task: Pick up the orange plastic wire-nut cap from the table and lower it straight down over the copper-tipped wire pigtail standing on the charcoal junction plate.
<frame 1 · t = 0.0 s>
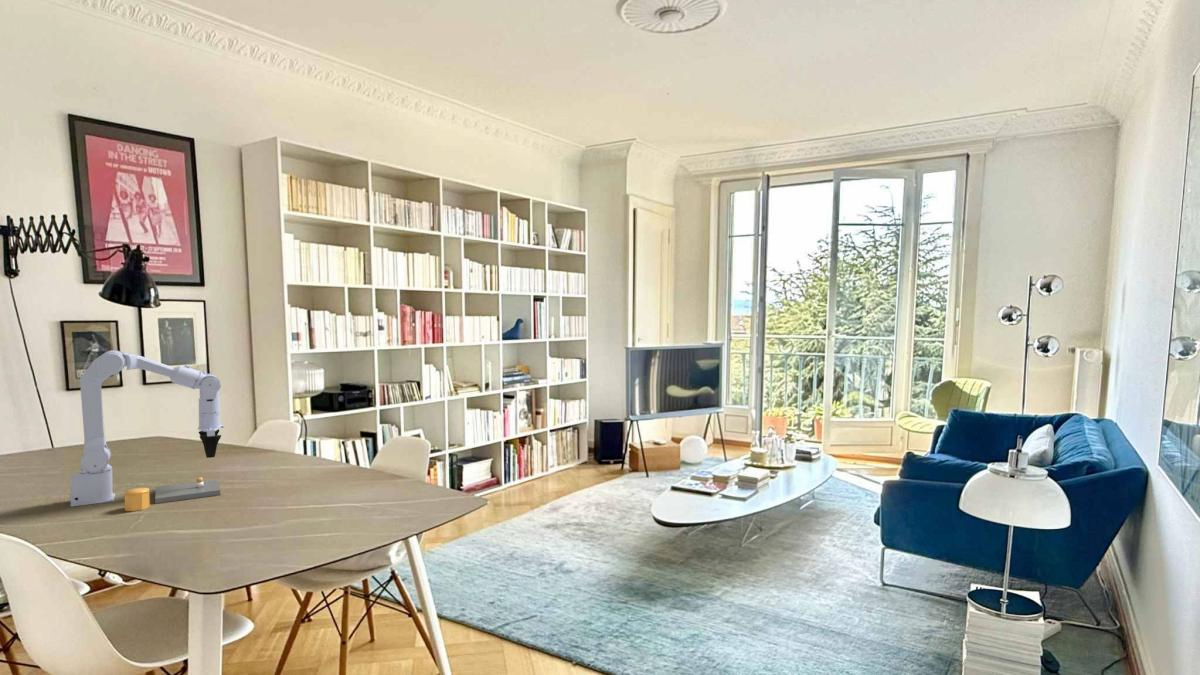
hand: (209, 454, 194), 10 cm above the table, tool pointing down, fingers open, 7 cm apart
junction plate: (188, 493, 186), on the table
wire nut: (137, 507, 172), on the table
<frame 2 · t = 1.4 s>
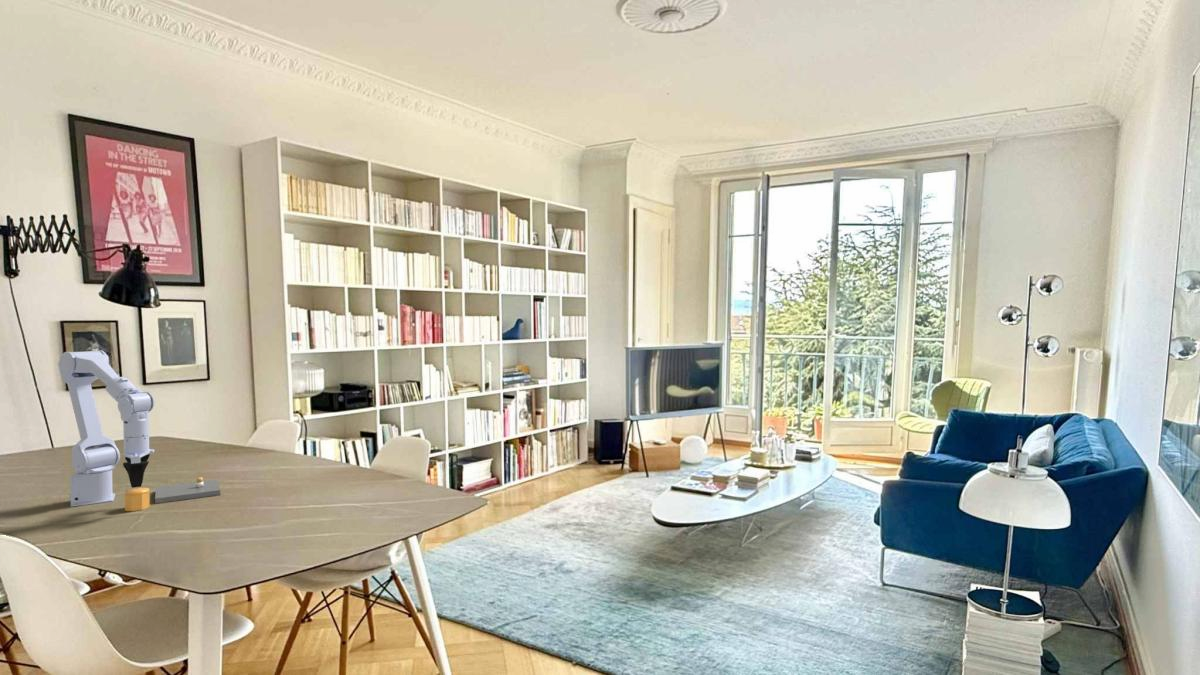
hand: (137, 483, 171), 7 cm above the table, tool pointing down, fingers open, 7 cm apart
nothing on the table moved.
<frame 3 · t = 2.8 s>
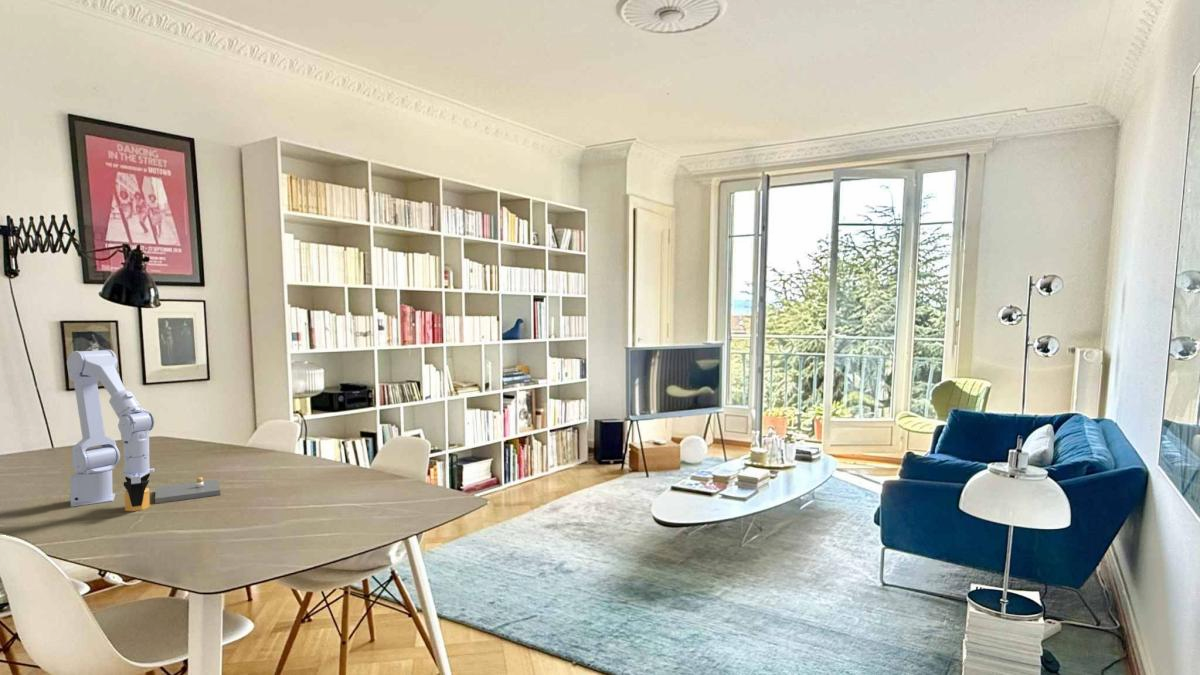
hand: (137, 503, 172), 1 cm above the table, tool pointing down, fingers closed on wire nut, 5 cm apart
wire nut: (137, 507, 172), on the table, touching gripper
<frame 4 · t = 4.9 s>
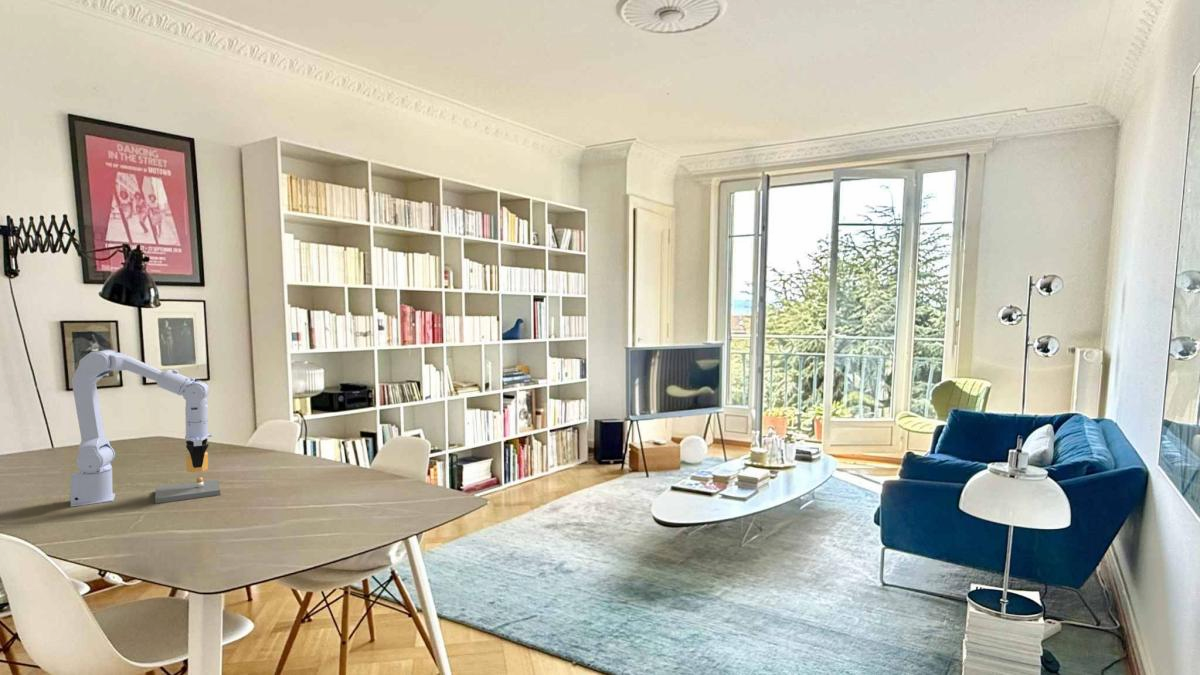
hand: (197, 465, 187), 8 cm above the table, tool pointing down, fingers closed on wire nut, 5 cm apart
wire nut: (197, 469, 187), point 7 cm above the table, touching gripper
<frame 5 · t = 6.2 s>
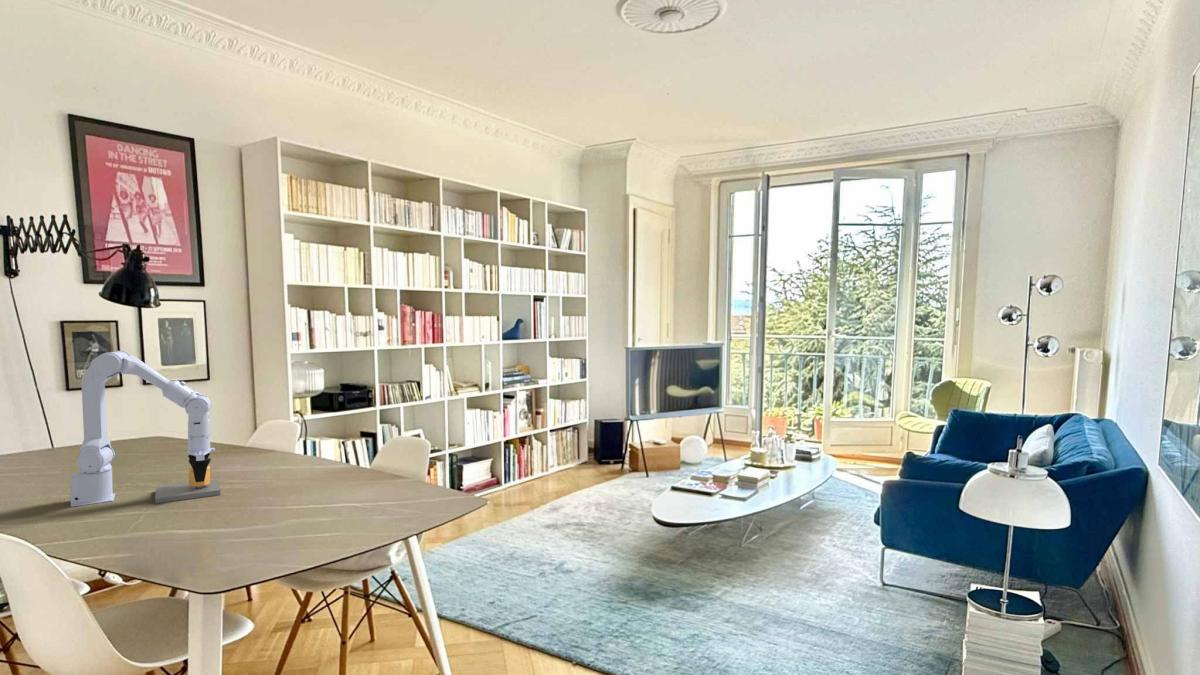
hand: (199, 479, 187), 4 cm above the table, tool pointing down, fingers closed on wire nut, 5 cm apart
wire nut: (199, 483, 188), point 2 cm above the table, touching gripper
when the fingers open (4 cm above the table, at t = 7.0 s): wire nut stays where it is, resting on junction plate.
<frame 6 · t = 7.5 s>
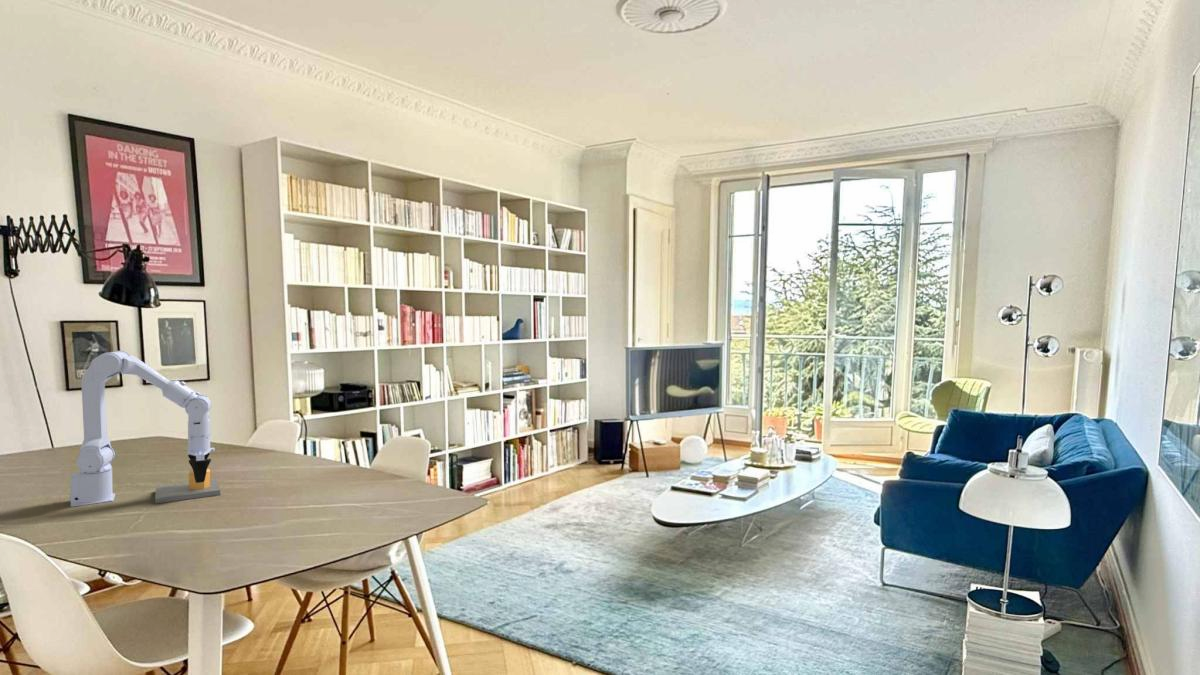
hand: (199, 479, 187), 4 cm above the table, tool pointing down, fingers open, 7 cm apart
wire nut: (199, 486, 188), point 1 cm above the table, touching junction plate
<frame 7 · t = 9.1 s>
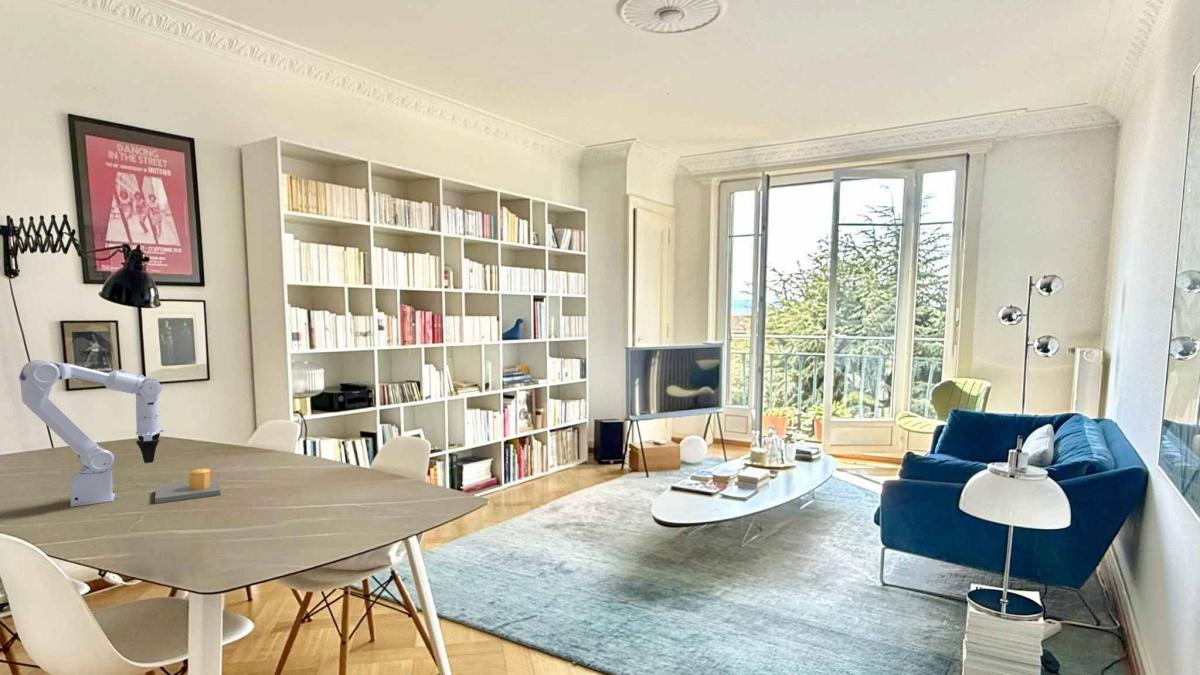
hand: (149, 459, 188), 9 cm above the table, tool pointing down, fingers open, 7 cm apart
nothing on the table moved.
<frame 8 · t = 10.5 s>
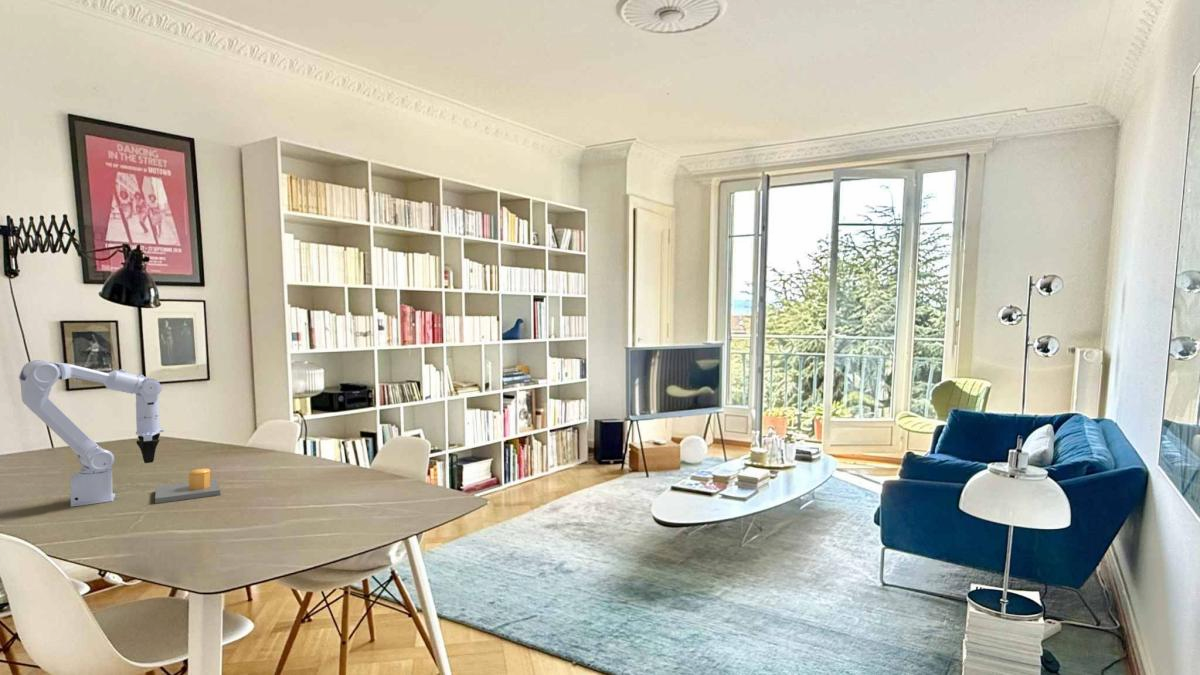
hand: (149, 459, 188), 9 cm above the table, tool pointing down, fingers open, 7 cm apart
nothing on the table moved.
at the end: wire nut 0.1 cm from the target spot on the junction plate, point 1.5 cm above the junction plate's base; wire nut tilted 0°; the gripper is holding nothing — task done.
